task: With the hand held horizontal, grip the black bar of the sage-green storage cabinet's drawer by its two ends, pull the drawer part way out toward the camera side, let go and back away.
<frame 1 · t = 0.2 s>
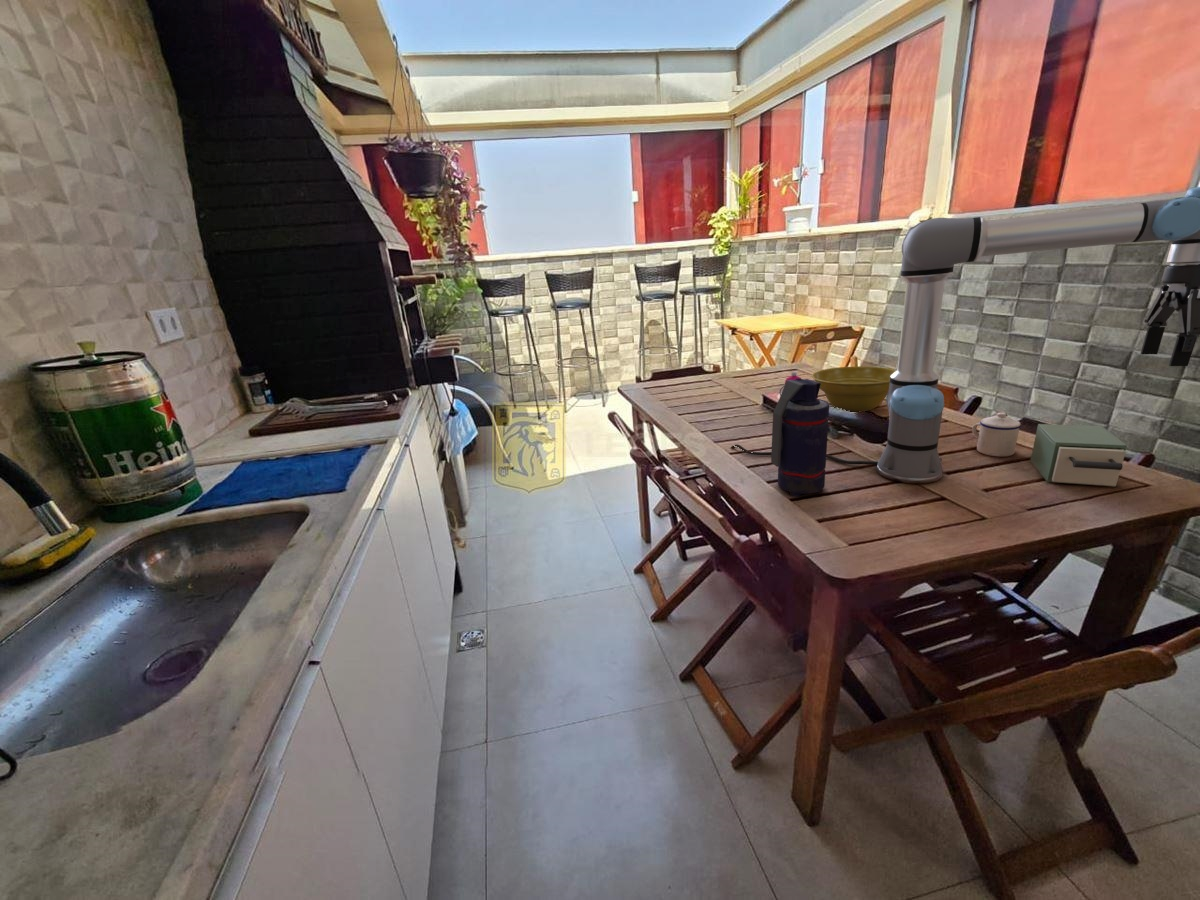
hand: (1162, 359, 114), 28 cm above the table, tool pointing down, fingers open, 13 cm apart
drawer: (1081, 460, 120), point 5 cm above the table, slide at 0.5 cm
cabinet: (1069, 472, 126), on the table
teacup with lid: (989, 450, 143), on the table
grenade: (797, 489, 133), on the table
planter bowl: (854, 407, 194), on the table
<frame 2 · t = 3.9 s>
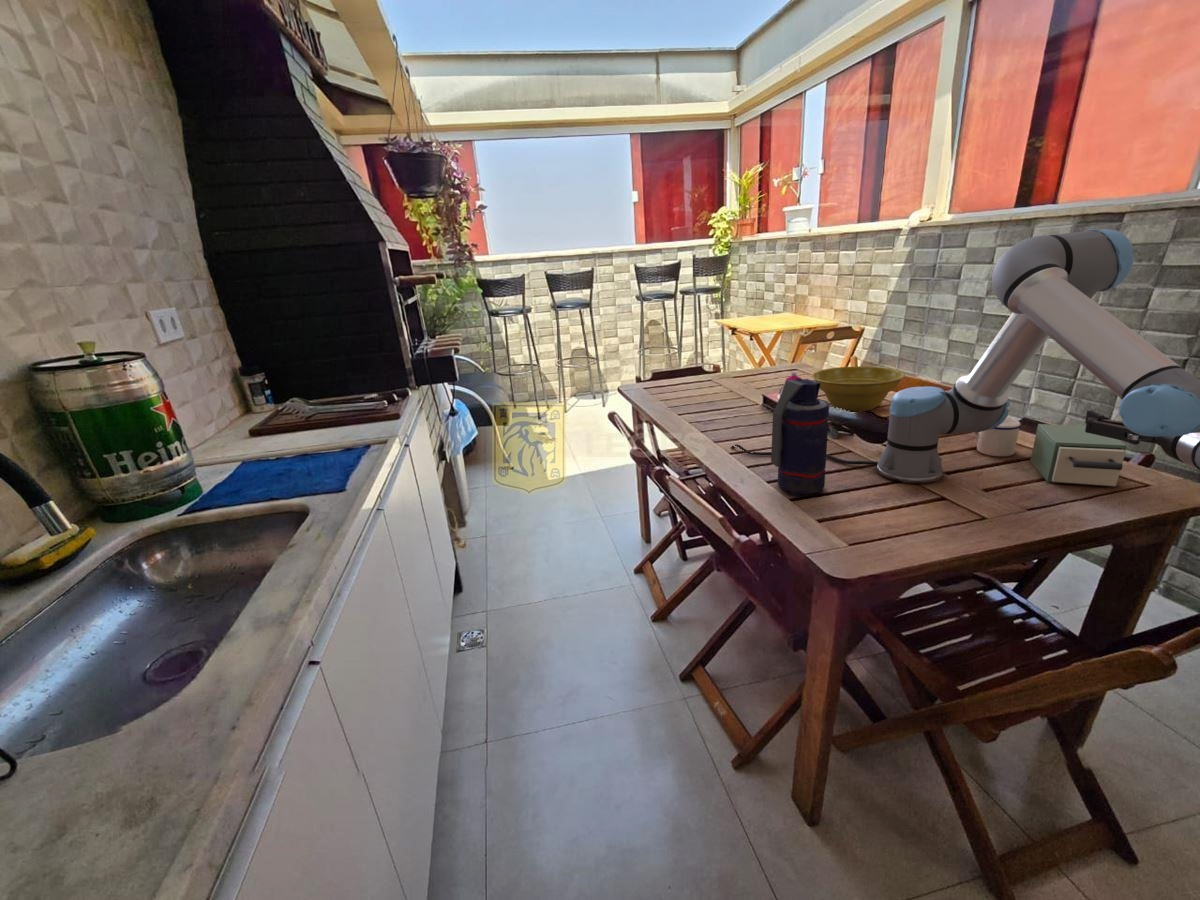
hand: (1131, 416, 101), 22 cm above the table, tool horizontal, fingers open, 13 cm apart
nothing on the table moved.
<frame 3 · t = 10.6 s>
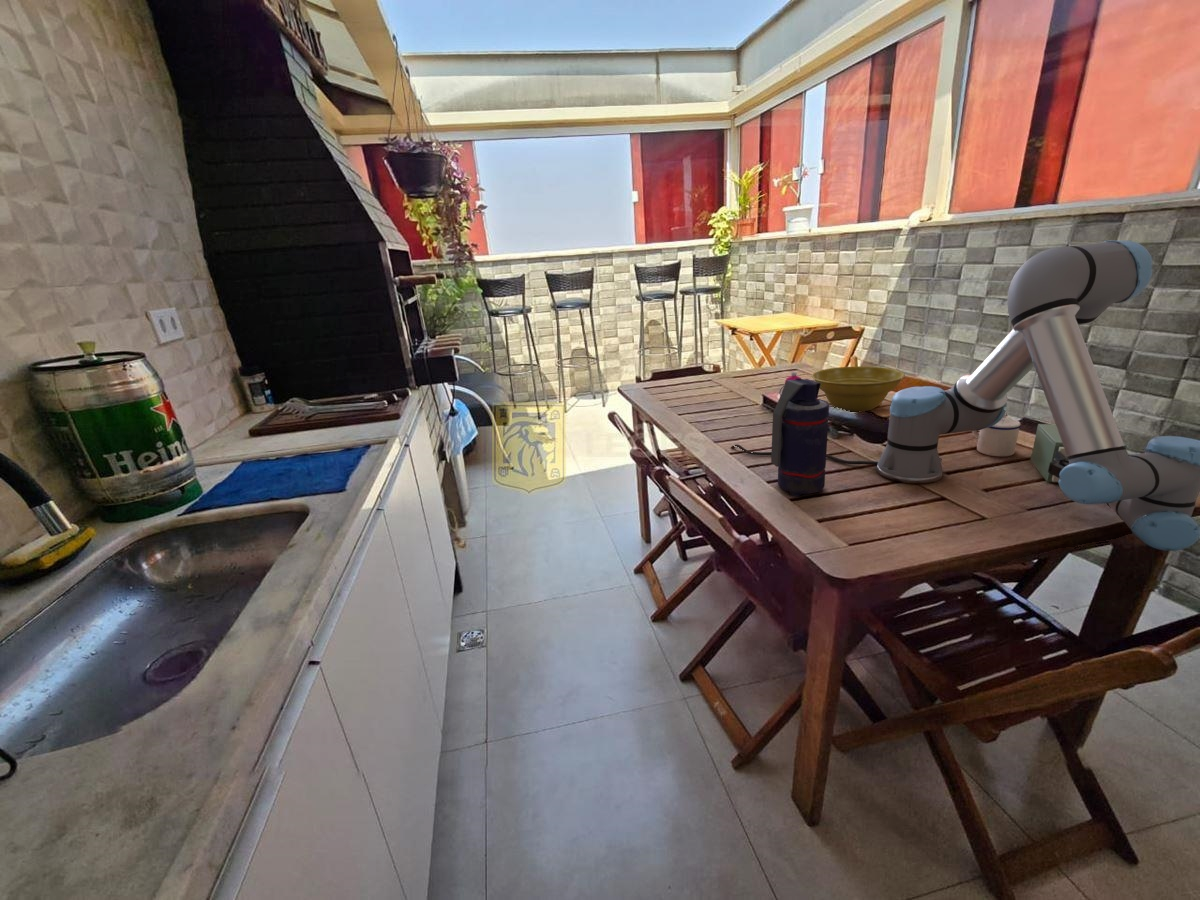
hand: (1089, 458, 116), 7 cm above the table, tool horizontal, fingers closed on drawer, 11 cm apart
drawer: (1081, 460, 120), point 5 cm above the table, slide at 0.5 cm, touching gripper
everything else where it was.
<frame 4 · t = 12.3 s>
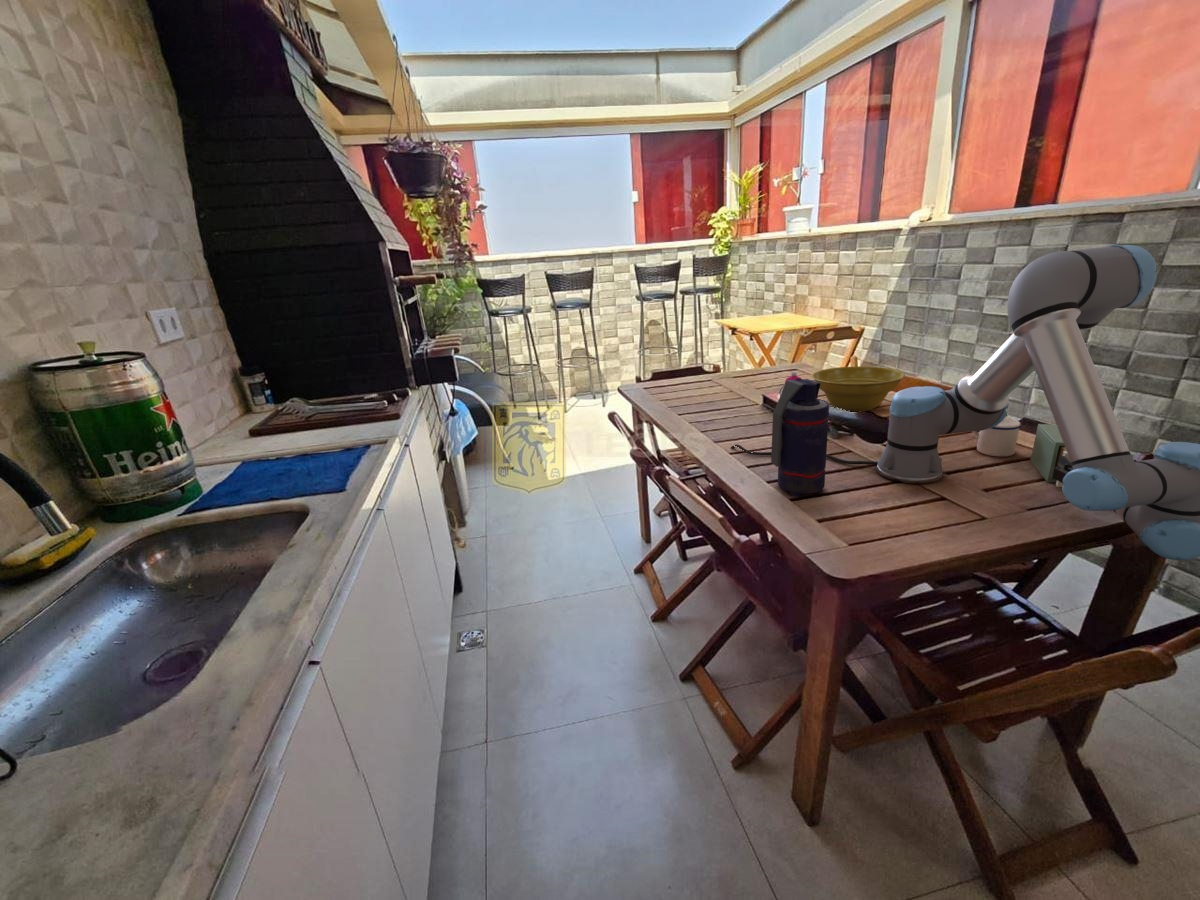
hand: (1095, 463, 113), 7 cm above the table, tool horizontal, fingers closed on drawer, 11 cm apart
drawer: (1086, 465, 117), point 5 cm above the table, slide at 3.7 cm, touching gripper
everything else where it was.
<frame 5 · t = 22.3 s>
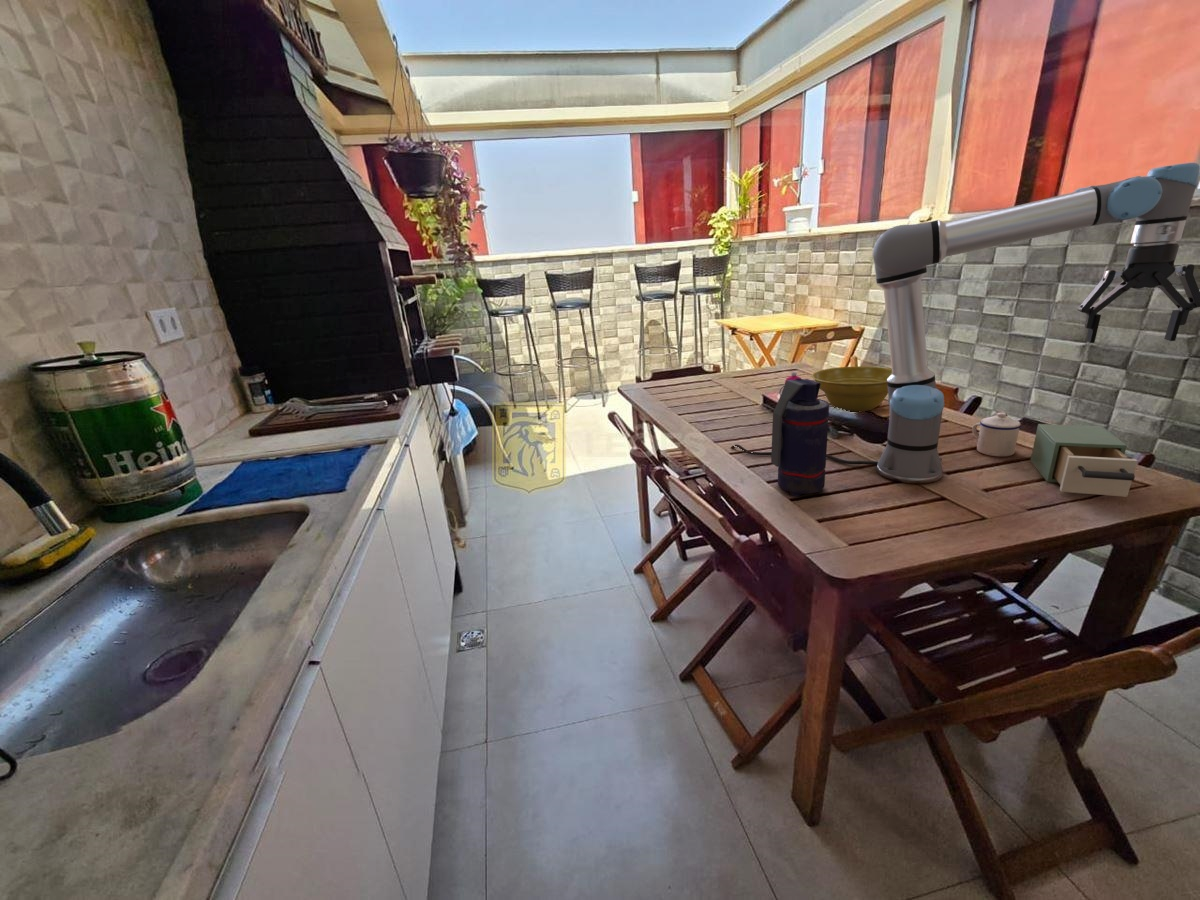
hand: (1128, 341, 115), 33 cm above the table, tool pointing down, fingers open, 13 cm apart
drawer: (1090, 469, 115), point 5 cm above the table, slide at 6.4 cm
everything else where it was.
at the end: drawer slide at 6.4 cm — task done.
